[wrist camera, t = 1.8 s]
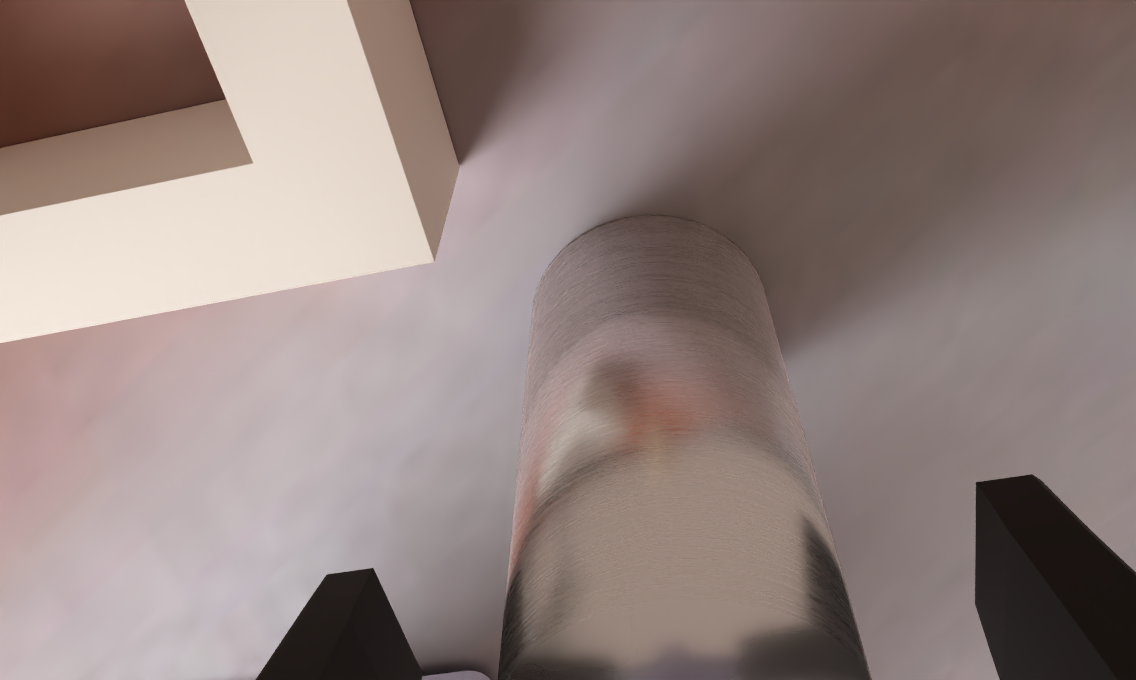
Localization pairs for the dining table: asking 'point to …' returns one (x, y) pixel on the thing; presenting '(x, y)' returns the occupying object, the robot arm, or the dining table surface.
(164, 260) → the socket block
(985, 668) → the dining table surface
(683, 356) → the peg
